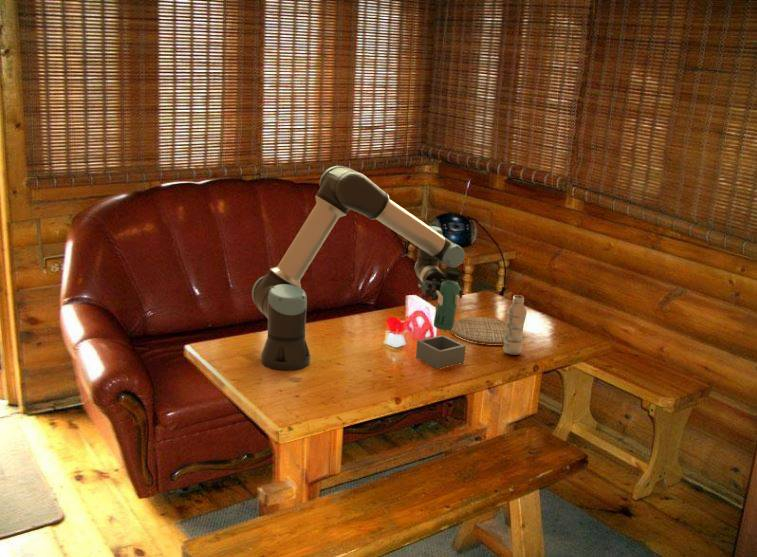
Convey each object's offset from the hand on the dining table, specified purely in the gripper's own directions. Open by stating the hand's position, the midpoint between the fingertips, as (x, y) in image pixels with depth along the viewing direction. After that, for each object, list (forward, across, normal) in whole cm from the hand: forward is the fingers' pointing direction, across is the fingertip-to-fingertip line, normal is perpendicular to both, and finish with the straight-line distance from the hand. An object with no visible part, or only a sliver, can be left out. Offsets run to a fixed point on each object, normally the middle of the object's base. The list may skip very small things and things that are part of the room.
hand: (449, 301), depth 253 cm
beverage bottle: (-5, 0, -12) cm, 13 cm away
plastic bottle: (-11, -26, -22) cm, 36 cm away
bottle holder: (-5, 0, -22) cm, 23 cm away
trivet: (-31, -23, -22) cm, 44 cm away
